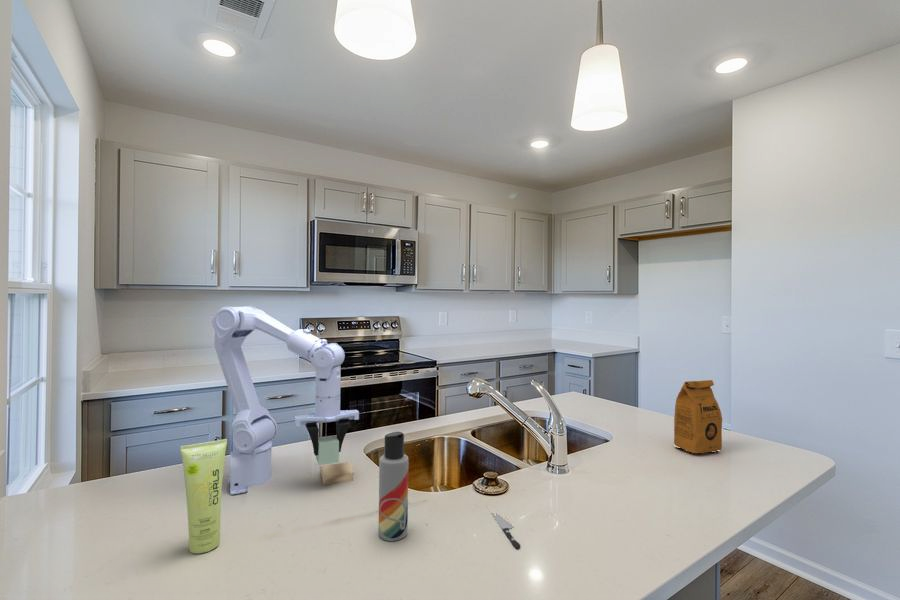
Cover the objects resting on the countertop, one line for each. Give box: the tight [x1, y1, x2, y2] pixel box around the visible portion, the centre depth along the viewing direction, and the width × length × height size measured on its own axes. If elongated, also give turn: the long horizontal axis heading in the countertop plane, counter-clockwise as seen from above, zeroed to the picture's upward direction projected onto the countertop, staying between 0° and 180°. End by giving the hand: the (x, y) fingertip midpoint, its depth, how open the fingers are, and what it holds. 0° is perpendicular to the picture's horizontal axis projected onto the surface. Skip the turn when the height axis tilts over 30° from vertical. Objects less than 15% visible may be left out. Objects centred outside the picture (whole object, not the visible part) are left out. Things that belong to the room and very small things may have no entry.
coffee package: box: [673, 379, 723, 454], centre depth 134 cm, size 10×12×22 cm
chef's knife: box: [490, 513, 521, 550], centre depth 90 cm, size 19×1×3 cm
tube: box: [179, 438, 228, 554], centre depth 79 cm, size 6×5×20 cm
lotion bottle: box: [378, 431, 409, 542], centre depth 85 cm, size 6×6×20 cm
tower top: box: [319, 461, 354, 486], centre depth 108 cm, size 7×7×2 cm
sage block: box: [315, 435, 340, 466], centre depth 102 cm, size 4×4×5 cm
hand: (327, 452), depth 102 cm, fingers closed on sage block, 4 cm apart
